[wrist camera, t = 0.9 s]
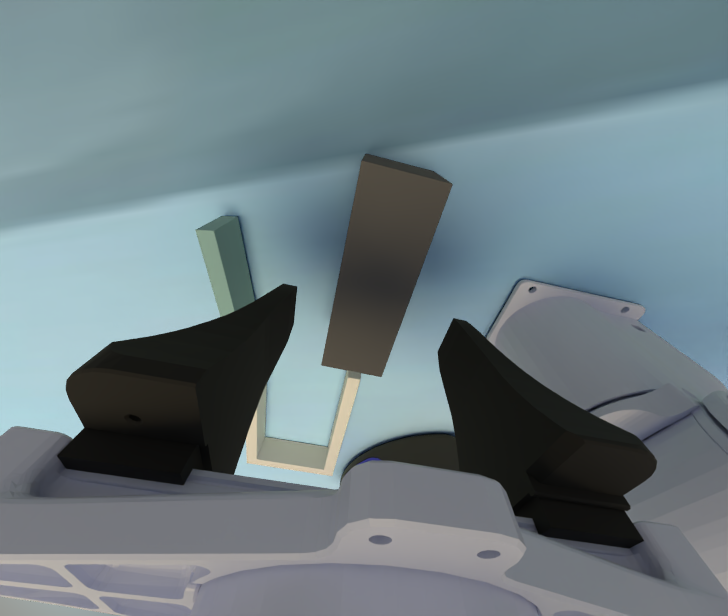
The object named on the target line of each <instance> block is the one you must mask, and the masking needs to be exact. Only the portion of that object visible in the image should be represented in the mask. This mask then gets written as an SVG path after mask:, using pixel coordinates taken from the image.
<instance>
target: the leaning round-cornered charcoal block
mask: <svg viewBox="0 0 728 616" xmlns="http://www.w3.org/2000/svg"><path fill="white" fill-rule="evenodd" d="M371 460H375V461H396V462H403V463H409V464H415V465H422V466H428V467H434V468H441V469H447V470H454V471H459V462H458V453H457V445H456V438H455V437H454V436H451V435H446V434H430V435H419V436H412V437H407V438H403V439H398V440H395V441H391V442H388V443H385V444H383V445H380V446H377V447H375V448H373V449H371V450H369V451H367V452H365V453H364V454H362V455H361V456H359V457H358V458H356V459H355V460H354V461H353V462H352V463H351V464H350V465H349V466H348V467H347V468H346V470H345V471H344V473H343V475H342V477H341V481H342V478H343V477H344V476H345V475H346V474H347V473H348V472H349V470H350V469H351V468H353V467H354V466H355V465H359V464H362V463H365V462H368V461H371ZM341 481H340V484H341Z"/></svg>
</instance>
